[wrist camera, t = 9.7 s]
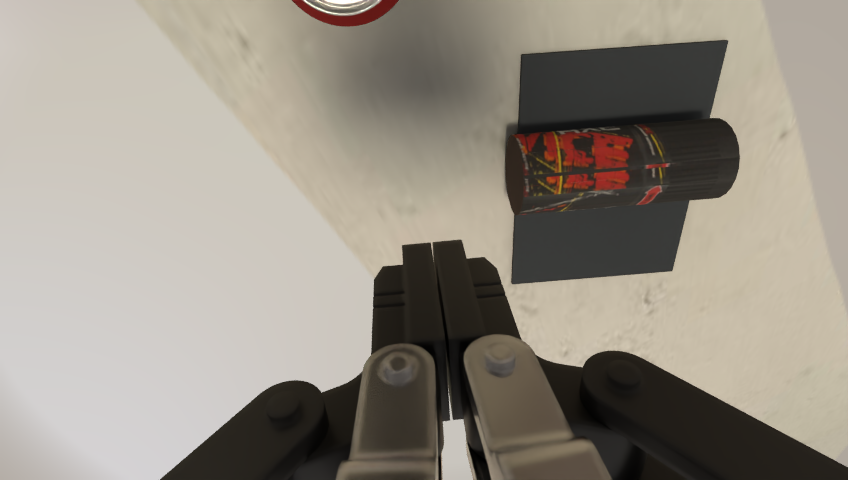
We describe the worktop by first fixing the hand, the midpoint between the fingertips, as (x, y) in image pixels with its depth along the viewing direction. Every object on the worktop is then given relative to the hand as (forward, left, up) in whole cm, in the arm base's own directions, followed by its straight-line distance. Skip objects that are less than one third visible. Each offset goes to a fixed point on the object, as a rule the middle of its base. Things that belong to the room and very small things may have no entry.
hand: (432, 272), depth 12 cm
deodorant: (+7, +7, -23) cm, 25 cm away
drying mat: (+9, +16, -26) cm, 32 cm away
